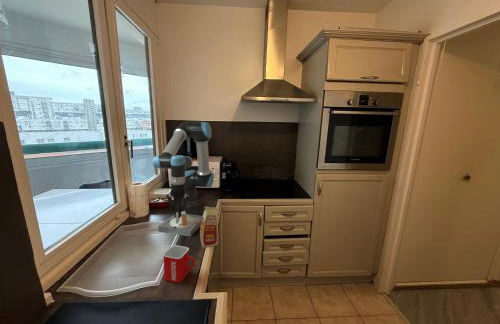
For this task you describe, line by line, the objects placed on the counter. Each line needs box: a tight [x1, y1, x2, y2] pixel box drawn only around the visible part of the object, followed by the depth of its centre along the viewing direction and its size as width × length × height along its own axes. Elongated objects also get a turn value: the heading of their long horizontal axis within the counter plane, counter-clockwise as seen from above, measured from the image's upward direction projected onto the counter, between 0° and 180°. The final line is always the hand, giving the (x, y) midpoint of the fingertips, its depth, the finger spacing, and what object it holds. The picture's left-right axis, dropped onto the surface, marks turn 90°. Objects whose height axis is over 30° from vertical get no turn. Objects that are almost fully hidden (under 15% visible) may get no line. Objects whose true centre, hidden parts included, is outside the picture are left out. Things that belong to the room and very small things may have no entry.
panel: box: [157, 213, 203, 237], centre depth 131 cm, size 20×20×4 cm
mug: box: [162, 245, 195, 284], centre depth 88 cm, size 12×8×11 cm
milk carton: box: [199, 206, 219, 249], centre depth 114 cm, size 9×9×20 cm
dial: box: [170, 210, 196, 228], centre depth 131 cm, size 15×15×7 cm
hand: (177, 222), depth 125 cm, fingers closed
